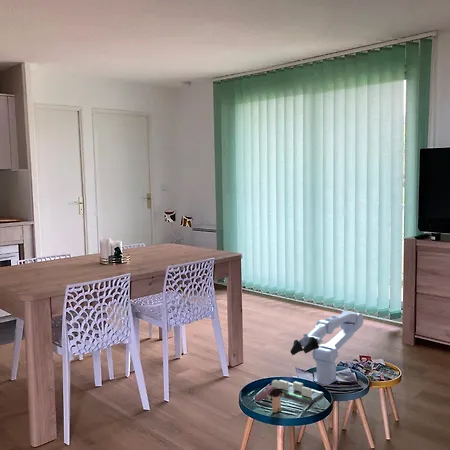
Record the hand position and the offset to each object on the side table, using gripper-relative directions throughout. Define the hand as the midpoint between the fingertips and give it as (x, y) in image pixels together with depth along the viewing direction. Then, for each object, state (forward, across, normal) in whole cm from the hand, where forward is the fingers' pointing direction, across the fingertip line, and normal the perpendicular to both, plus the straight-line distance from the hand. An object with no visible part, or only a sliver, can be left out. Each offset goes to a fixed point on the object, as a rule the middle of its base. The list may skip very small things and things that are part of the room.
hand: (298, 352), depth 220 cm
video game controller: (+16, -14, +12) cm, 24 cm away
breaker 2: (+6, -1, +17) cm, 18 cm away
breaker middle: (+4, -7, +16) cm, 17 cm away
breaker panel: (+4, -7, +17) cm, 19 cm away
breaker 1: (+6, -12, +13) cm, 19 cm away
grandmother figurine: (+23, -3, +13) cm, 27 cm away
